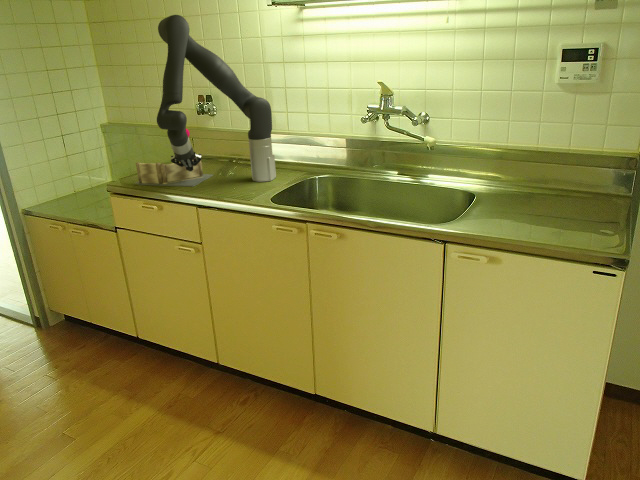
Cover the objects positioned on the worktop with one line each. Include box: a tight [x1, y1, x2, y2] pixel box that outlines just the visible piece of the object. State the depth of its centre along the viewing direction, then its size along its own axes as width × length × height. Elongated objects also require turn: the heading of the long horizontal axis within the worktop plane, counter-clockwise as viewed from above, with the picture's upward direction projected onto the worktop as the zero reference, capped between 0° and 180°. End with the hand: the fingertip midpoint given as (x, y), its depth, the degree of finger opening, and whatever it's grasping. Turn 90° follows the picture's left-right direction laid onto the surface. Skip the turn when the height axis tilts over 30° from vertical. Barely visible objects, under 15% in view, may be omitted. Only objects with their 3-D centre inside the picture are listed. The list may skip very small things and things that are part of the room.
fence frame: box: [135, 161, 163, 184], centre depth 227 cm, size 11×2×9 cm, turn 74°
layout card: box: [133, 173, 214, 188], centre depth 233 cm, size 28×18×1 cm, turn 74°
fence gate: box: [160, 160, 204, 183], centre depth 229 cm, size 17×2×8 cm, turn 122°
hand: (190, 169), depth 229 cm, fingers closed
